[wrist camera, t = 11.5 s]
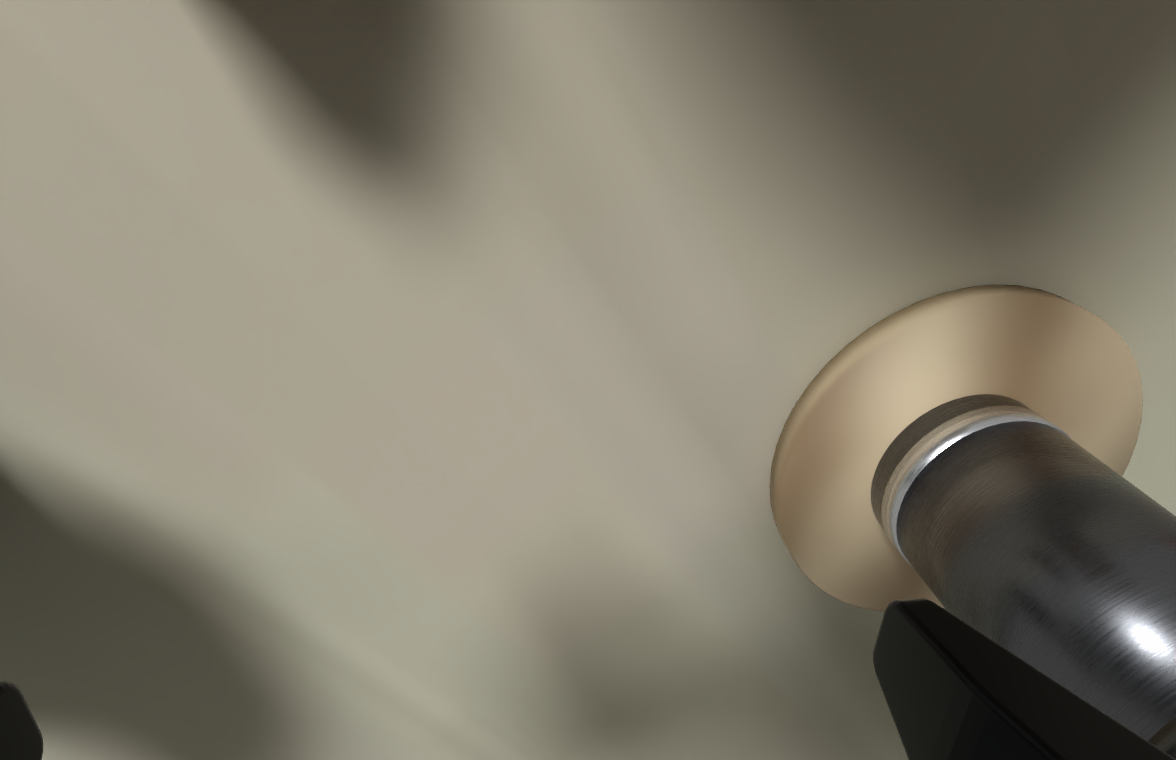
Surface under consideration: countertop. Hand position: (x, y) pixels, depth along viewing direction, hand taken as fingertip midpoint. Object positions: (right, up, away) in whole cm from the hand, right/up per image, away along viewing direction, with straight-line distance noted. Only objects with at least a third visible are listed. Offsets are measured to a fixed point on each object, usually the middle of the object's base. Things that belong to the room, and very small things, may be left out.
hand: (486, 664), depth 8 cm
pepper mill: (+13, 0, +16) cm, 20 cm away
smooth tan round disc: (+13, 0, +17) cm, 21 cm away
